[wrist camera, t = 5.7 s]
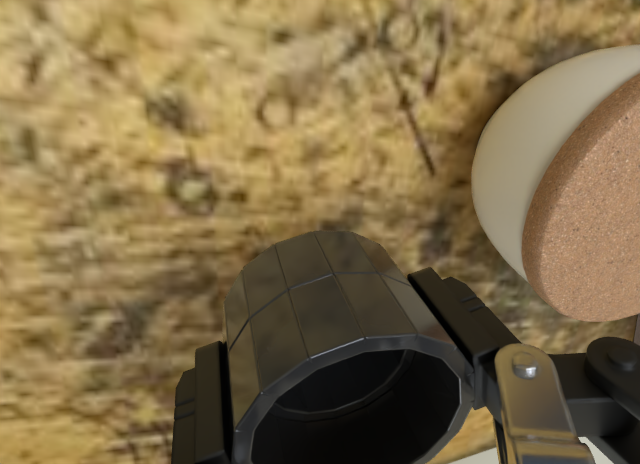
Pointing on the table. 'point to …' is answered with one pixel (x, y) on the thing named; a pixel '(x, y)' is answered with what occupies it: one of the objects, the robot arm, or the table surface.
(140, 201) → the table surface
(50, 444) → the table surface
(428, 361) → the dark gray metal cup
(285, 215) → the table surface
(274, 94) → the table surface
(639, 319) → the rafter model
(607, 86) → the lidded bowl
